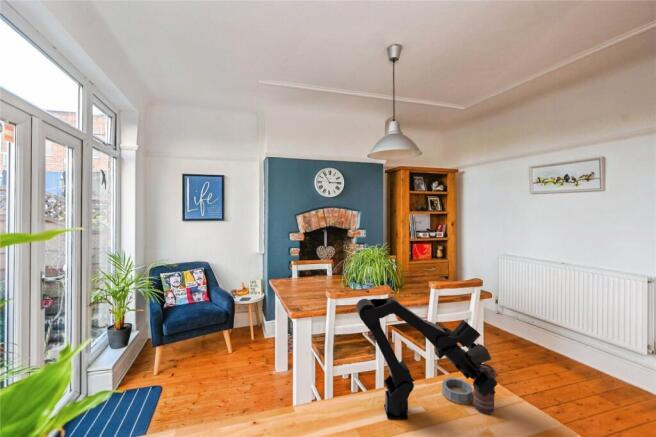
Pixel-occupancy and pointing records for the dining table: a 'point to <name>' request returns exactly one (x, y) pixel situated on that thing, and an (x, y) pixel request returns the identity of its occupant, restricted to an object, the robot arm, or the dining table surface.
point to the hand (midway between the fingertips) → (488, 387)
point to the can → (486, 402)
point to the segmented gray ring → (457, 391)
